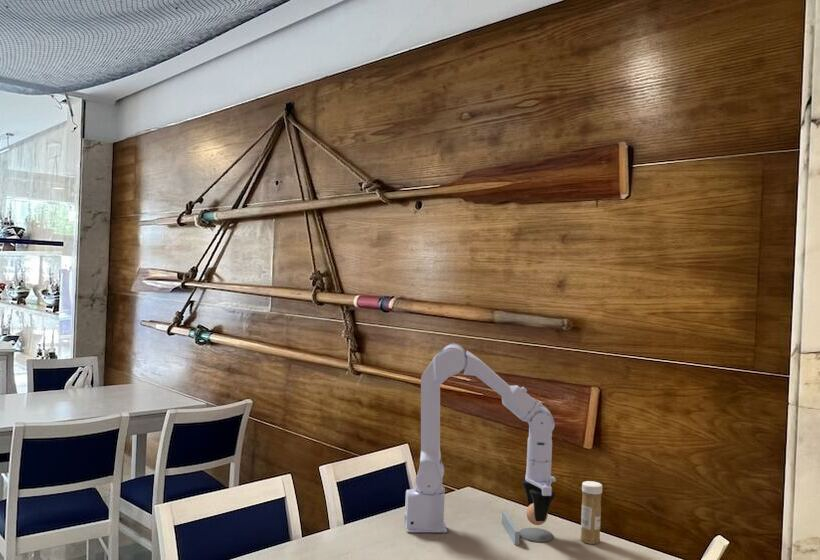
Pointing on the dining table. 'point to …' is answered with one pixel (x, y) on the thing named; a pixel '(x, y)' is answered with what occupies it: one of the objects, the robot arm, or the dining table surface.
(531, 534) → the pad
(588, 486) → the spice jar
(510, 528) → the acrylic wall
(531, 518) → the terracotta ball
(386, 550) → the dining table surface
